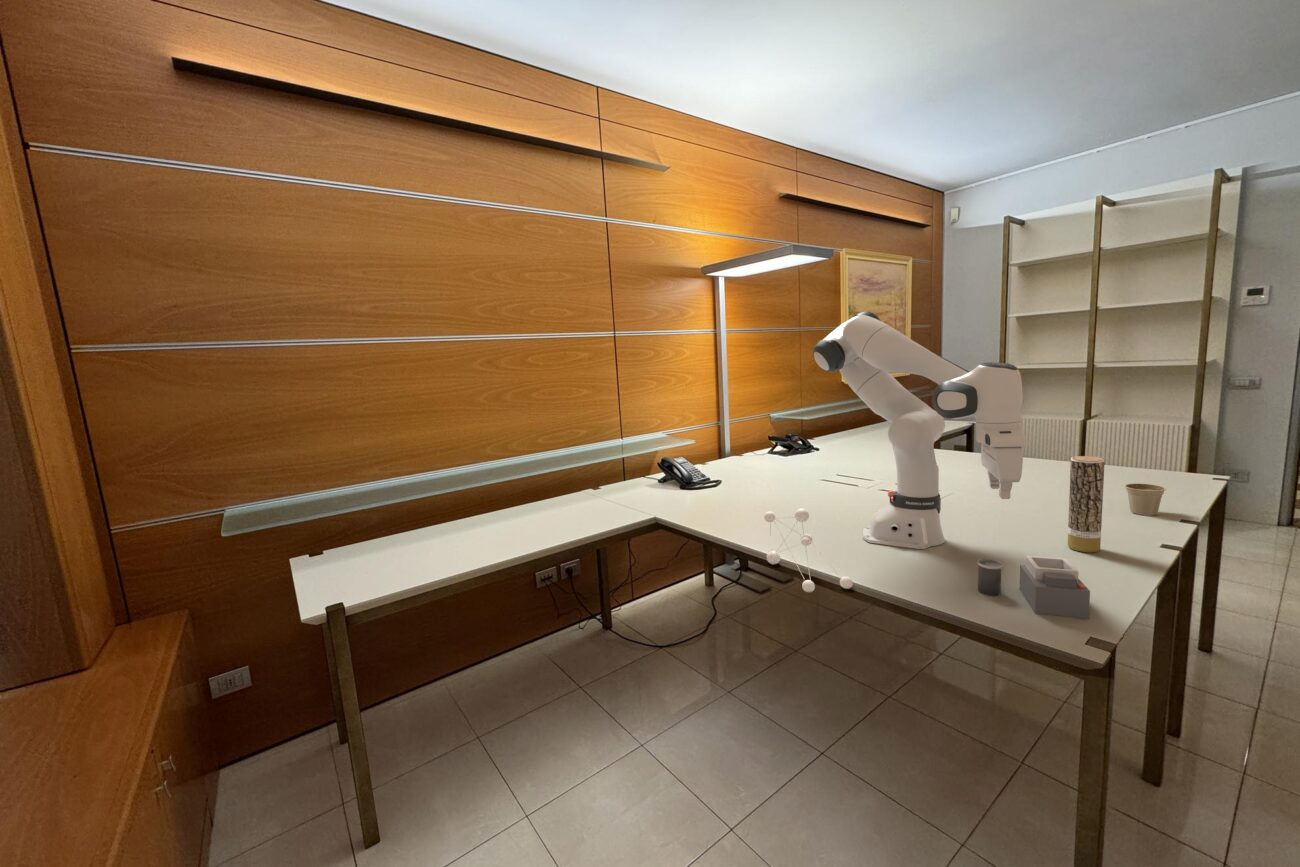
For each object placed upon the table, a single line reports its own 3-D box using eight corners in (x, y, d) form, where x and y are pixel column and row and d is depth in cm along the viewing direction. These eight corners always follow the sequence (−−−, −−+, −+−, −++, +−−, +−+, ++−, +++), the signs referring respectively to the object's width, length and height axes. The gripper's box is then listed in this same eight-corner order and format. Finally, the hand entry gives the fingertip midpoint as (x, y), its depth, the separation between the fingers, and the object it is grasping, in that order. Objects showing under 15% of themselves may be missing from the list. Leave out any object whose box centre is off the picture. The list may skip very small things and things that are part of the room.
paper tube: (1106, 553, 133) (1111, 460, 130) (1076, 553, 135) (1080, 461, 131) (1089, 544, 140) (1093, 455, 137) (1061, 544, 141) (1065, 456, 138)
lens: (979, 594, 116) (980, 565, 115) (975, 586, 120) (976, 558, 119) (1003, 597, 114) (1004, 567, 113) (998, 588, 119) (999, 560, 118)
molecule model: (788, 562, 147) (801, 502, 146) (851, 600, 124) (867, 530, 123) (747, 560, 141) (760, 498, 140) (806, 599, 118) (822, 525, 117)
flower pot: (1137, 517, 157) (1139, 490, 156) (1115, 509, 166) (1117, 483, 165) (1173, 517, 156) (1174, 490, 155) (1148, 508, 165) (1150, 482, 164)
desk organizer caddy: (1088, 618, 103) (1090, 579, 102) (1035, 613, 107) (1036, 575, 106) (1067, 593, 114) (1068, 557, 113) (1019, 589, 118) (1020, 554, 116)
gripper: (973, 428, 126) (974, 482, 127) (992, 440, 107) (993, 504, 109) (1003, 427, 123) (1004, 482, 125) (1028, 439, 105) (1029, 504, 106)
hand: (999, 493), depth 117 cm, fingers open, 8 cm apart
